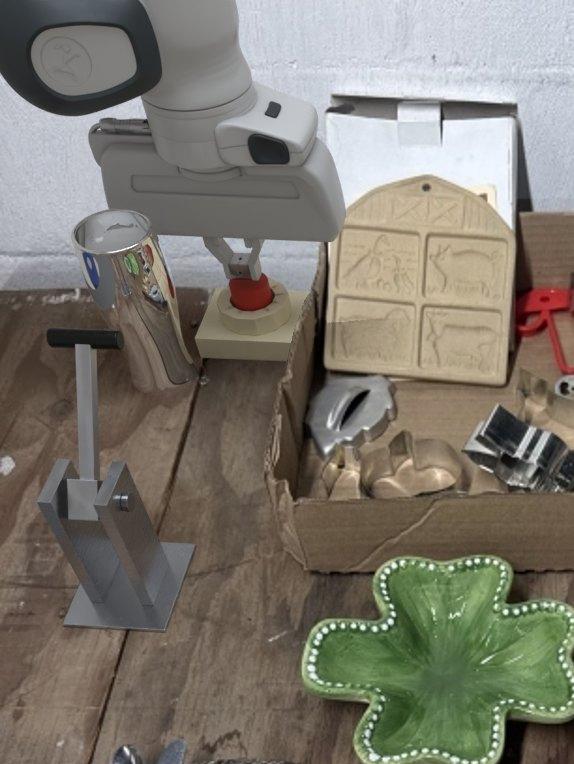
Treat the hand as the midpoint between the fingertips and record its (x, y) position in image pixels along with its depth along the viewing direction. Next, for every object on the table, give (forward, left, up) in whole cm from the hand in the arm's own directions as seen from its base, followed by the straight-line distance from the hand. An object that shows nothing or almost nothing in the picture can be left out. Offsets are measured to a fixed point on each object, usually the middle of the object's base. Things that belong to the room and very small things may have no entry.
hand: (244, 276), depth 98 cm
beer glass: (-7, -8, -6) cm, 12 cm away
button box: (0, 0, -6) cm, 6 cm away
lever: (-2, -29, +7) cm, 30 cm away
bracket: (-2, -33, -6) cm, 34 cm away
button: (0, 0, -3) cm, 3 cm away
